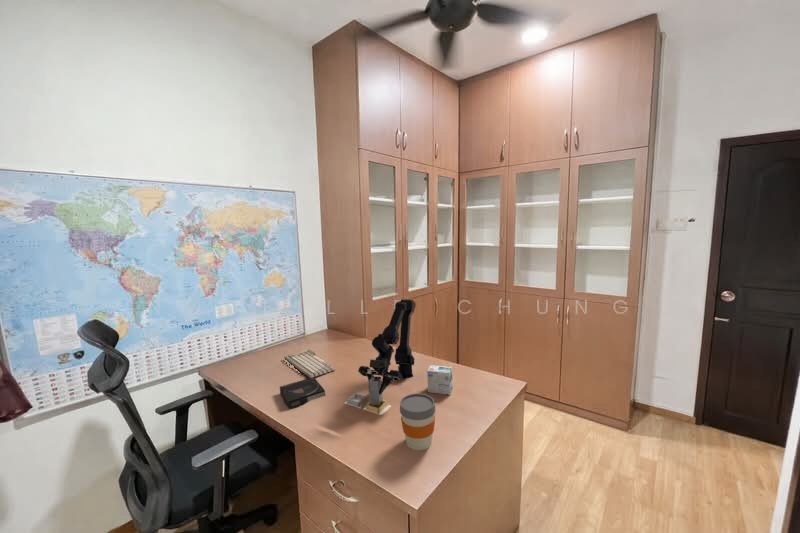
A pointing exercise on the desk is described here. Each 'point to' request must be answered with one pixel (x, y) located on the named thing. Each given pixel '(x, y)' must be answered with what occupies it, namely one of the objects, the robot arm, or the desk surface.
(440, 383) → the light bulb box
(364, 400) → the board
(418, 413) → the reusable coffee cup
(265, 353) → the desk surface
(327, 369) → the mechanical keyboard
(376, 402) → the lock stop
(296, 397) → the portable cd player
